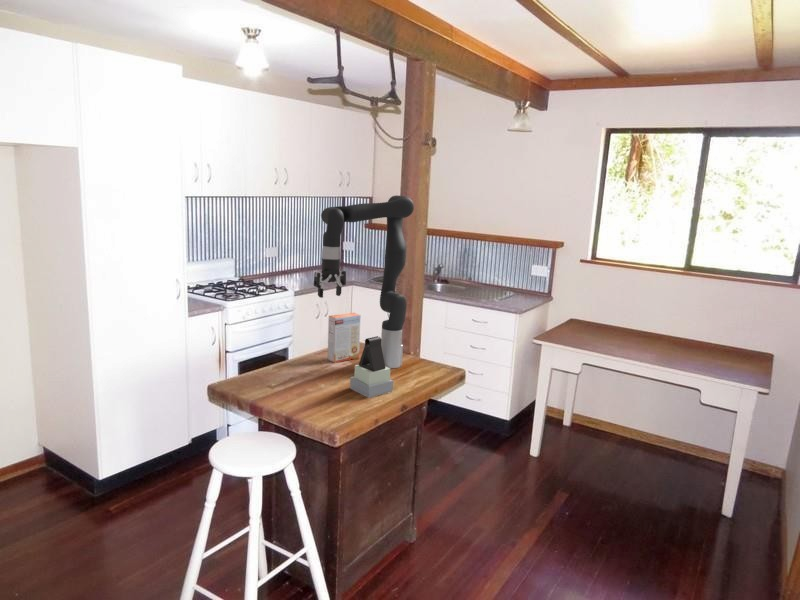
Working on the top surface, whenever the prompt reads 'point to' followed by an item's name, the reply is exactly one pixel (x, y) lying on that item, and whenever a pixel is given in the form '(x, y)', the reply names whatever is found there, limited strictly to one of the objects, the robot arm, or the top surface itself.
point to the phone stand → (372, 355)
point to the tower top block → (372, 375)
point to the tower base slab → (370, 387)
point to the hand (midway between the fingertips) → (329, 296)
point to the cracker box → (343, 337)
